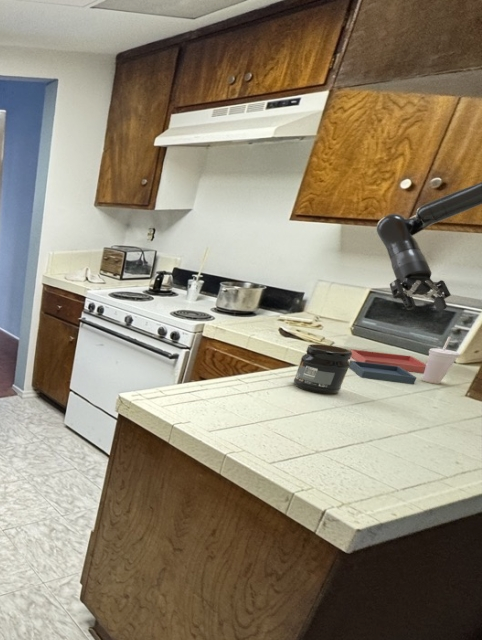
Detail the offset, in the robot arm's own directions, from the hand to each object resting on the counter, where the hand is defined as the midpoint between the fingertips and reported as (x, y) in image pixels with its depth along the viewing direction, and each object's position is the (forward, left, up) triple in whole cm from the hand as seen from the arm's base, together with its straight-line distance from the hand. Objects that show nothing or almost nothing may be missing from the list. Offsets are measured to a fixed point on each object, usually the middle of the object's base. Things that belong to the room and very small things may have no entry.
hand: (426, 309), depth 146 cm
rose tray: (+1, -7, -20) cm, 21 cm away
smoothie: (-4, +10, -20) cm, 23 cm away
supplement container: (+30, +36, -20) cm, 52 cm away
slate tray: (+8, +10, -20) cm, 24 cm away
